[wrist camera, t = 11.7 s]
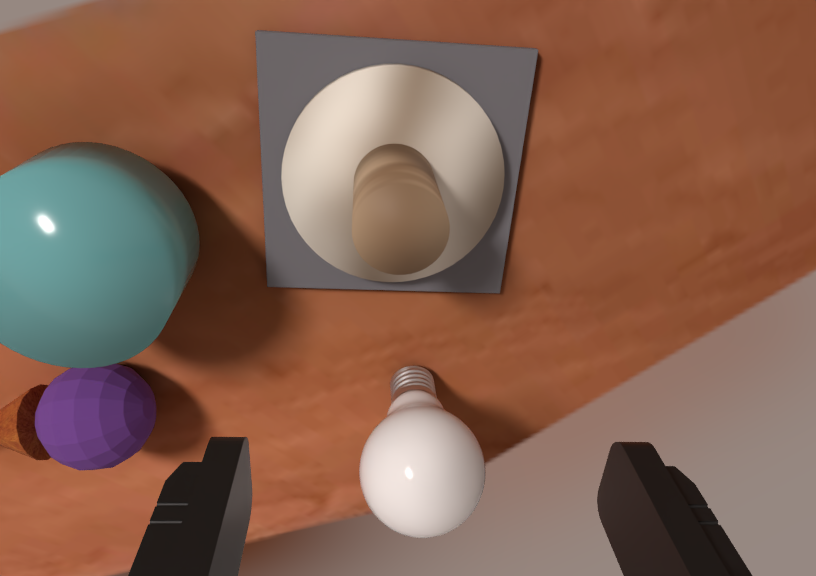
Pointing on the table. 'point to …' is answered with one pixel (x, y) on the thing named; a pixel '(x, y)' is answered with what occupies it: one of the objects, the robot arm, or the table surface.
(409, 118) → the lid
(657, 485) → the robot arm
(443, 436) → the lightbulb
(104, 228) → the teal rounded dome
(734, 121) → the table surface
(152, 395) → the kendama
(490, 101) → the mat
